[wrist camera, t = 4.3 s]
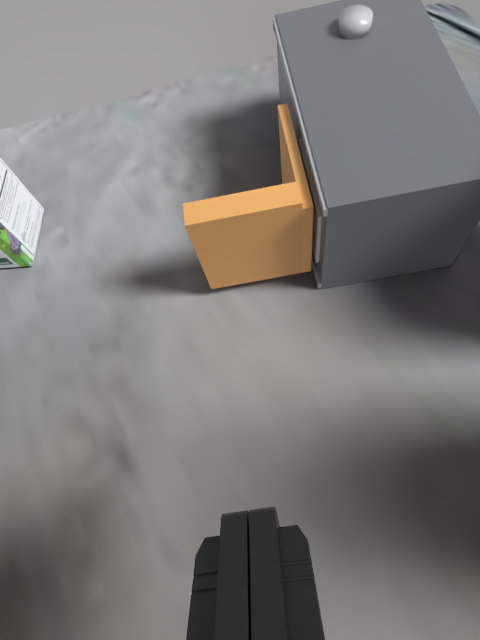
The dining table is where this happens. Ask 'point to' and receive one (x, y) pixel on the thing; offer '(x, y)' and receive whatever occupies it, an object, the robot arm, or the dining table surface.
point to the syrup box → (17, 221)
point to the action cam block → (379, 138)
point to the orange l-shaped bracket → (257, 224)
